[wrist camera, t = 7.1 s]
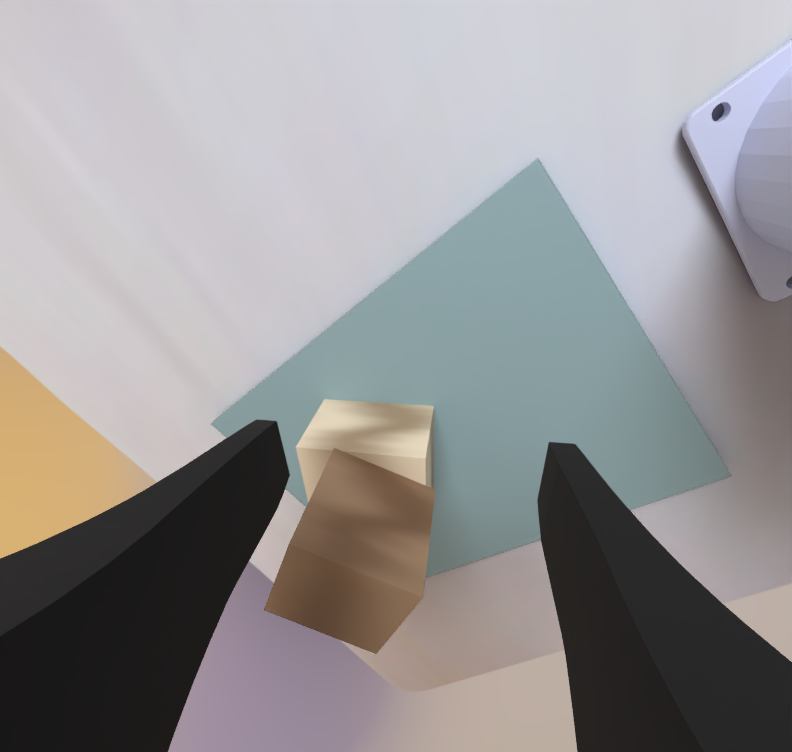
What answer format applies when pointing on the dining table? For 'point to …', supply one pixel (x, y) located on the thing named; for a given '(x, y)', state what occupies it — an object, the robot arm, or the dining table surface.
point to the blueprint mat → (500, 374)
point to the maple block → (370, 439)
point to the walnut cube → (356, 554)
